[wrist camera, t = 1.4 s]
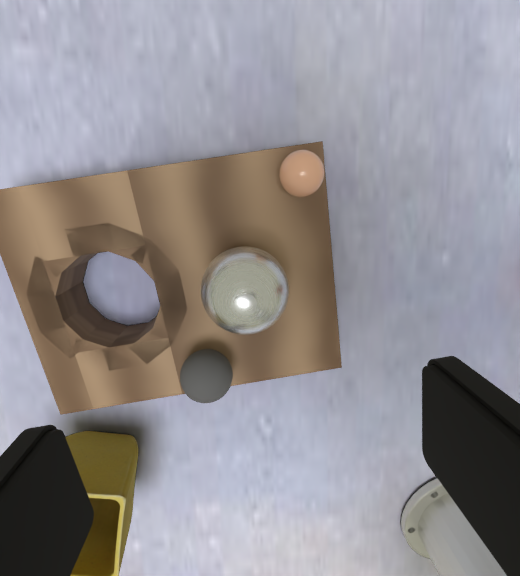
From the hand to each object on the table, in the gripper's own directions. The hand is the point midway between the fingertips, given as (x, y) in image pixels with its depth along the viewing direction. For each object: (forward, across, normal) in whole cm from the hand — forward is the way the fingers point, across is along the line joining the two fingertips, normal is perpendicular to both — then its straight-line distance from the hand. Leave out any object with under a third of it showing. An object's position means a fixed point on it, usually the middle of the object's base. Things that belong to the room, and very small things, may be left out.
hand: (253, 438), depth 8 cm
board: (+22, +5, 0) cm, 22 cm away
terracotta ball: (+16, -5, -7) cm, 18 cm away
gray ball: (+15, +4, +7) cm, 17 cm away
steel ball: (+14, 0, 0) cm, 14 cm away
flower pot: (+22, +17, +17) cm, 33 cm away
